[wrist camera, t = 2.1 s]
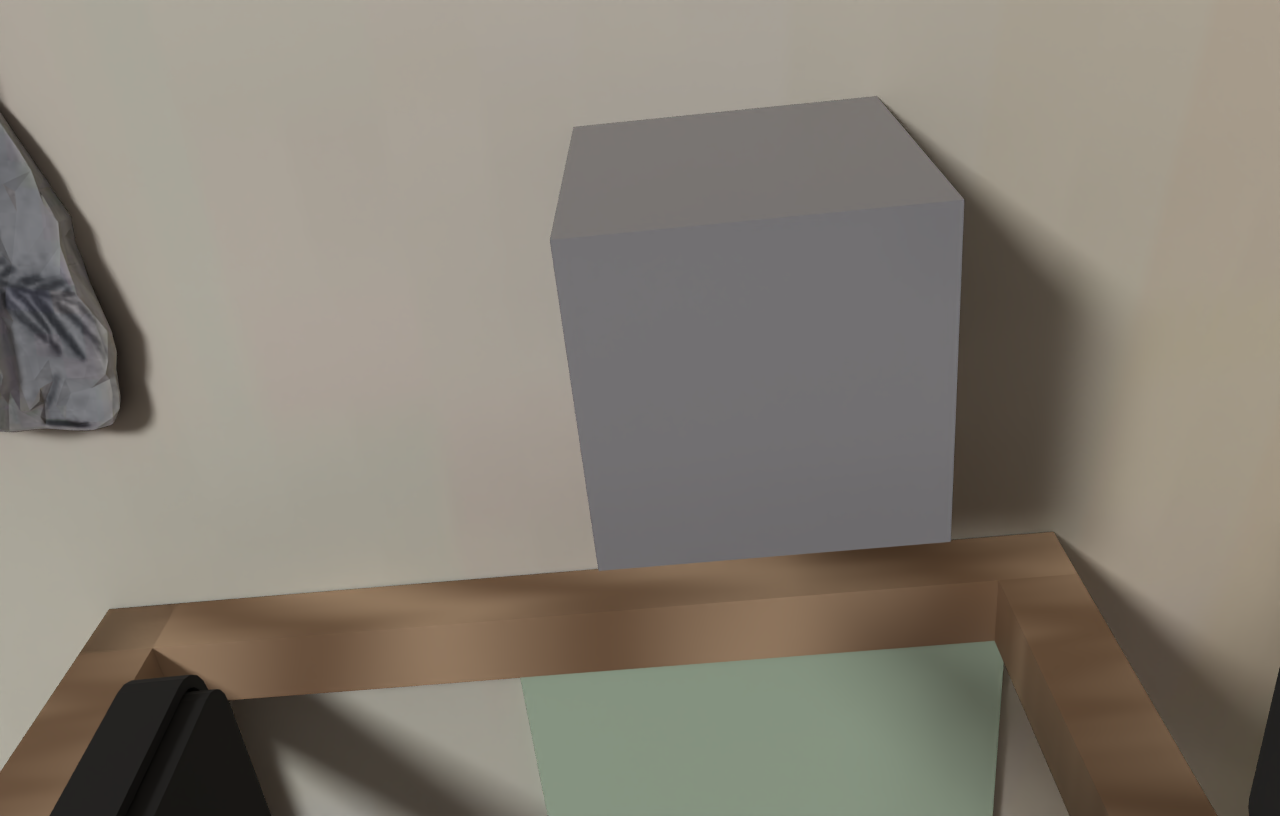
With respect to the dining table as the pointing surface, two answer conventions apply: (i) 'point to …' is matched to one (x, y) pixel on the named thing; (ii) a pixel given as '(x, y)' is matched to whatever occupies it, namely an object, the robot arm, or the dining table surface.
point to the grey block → (760, 332)
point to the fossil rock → (47, 310)
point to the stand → (656, 648)
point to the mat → (774, 736)
